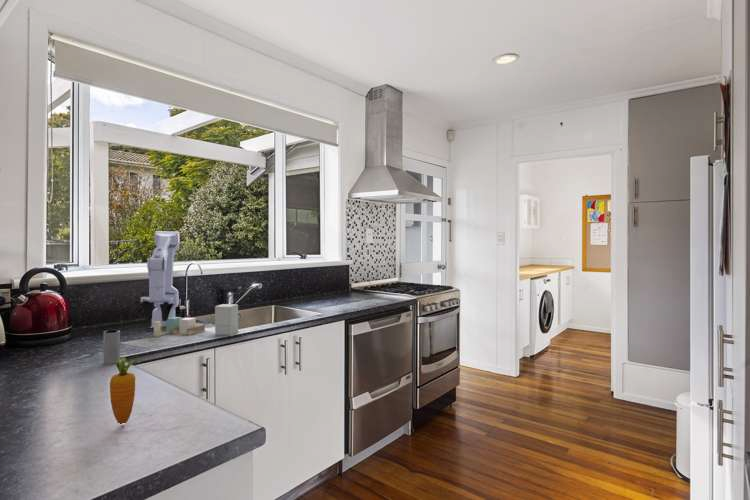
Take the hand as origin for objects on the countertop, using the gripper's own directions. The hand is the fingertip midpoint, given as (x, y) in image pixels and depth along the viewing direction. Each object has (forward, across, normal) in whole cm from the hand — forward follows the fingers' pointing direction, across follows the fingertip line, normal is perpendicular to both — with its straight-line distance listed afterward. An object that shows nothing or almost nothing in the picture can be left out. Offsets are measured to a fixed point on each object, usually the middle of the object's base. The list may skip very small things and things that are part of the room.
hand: (157, 320), depth 172 cm
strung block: (+7, 0, +5) cm, 9 cm away
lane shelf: (+7, +4, +10) cm, 13 cm away
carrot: (+8, +54, -70) cm, 89 cm away
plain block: (+7, +7, +10) cm, 14 cm away
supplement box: (+8, +23, +14) cm, 28 cm away
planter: (+8, +12, -33) cm, 36 cm away
